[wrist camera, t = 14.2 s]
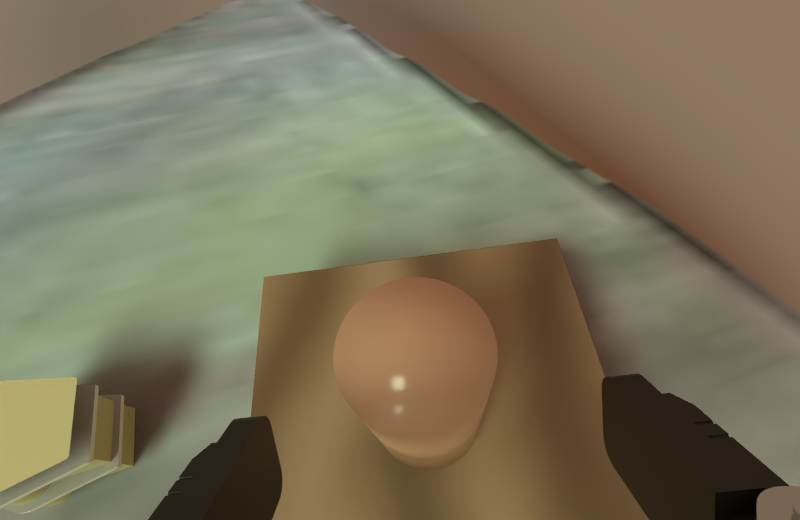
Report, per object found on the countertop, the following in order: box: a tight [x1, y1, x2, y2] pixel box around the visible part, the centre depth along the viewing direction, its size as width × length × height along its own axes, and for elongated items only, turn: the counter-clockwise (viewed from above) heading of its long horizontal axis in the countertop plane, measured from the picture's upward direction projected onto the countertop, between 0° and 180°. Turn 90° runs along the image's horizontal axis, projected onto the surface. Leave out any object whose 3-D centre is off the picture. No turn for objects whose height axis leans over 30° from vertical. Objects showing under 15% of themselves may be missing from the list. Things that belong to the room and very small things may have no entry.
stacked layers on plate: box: [0, 377, 135, 513], centre depth 22 cm, size 10×9×6 cm
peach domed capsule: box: [333, 277, 498, 470], centre depth 15 cm, size 5×5×8 cm
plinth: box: [251, 239, 649, 520], centre depth 21 cm, size 16×16×5 cm
